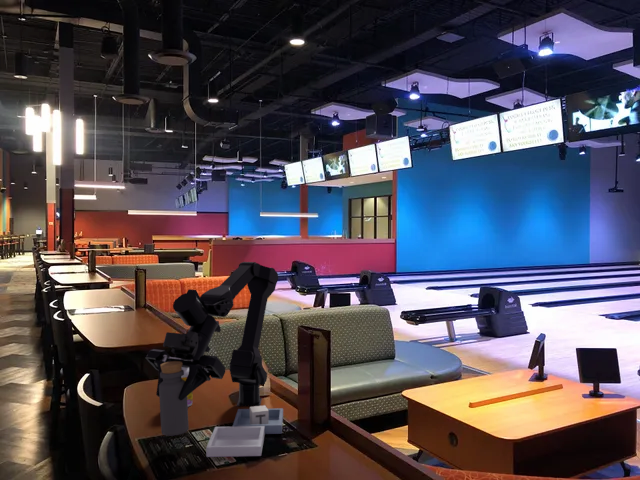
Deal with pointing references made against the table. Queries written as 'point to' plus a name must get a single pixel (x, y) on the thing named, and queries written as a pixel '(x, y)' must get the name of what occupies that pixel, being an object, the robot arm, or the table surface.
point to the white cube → (259, 415)
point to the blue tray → (271, 428)
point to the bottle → (172, 400)
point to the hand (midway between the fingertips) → (168, 397)
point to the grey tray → (236, 441)
